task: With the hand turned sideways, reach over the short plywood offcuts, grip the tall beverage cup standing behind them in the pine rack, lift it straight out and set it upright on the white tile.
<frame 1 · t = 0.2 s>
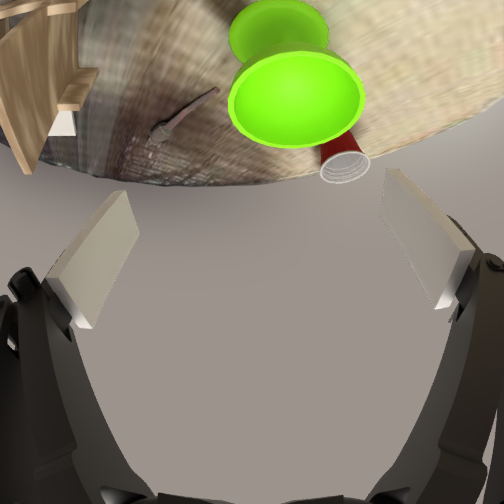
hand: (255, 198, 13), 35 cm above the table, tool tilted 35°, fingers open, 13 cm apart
white tile: (45, 112, 40), on the table
pine rack: (32, 37, 22), on the table
natural artifact: (178, 116, 50), on the table
plastic cup: (333, 126, 55), on the table
wineglass: (279, 37, 34), on the table
plywood offcuts: (32, 37, 22), on the table
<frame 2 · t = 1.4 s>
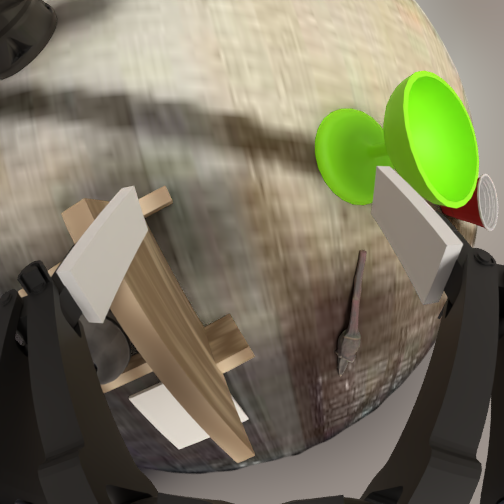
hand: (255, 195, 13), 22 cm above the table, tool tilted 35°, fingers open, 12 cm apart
white tile: (190, 409, 38), on the table
pine rack: (115, 307, 33), on the table
natural artifact: (349, 315, 44), on the table
plastic cup: (445, 200, 48), on the table
wineglass: (357, 155, 40), on the table
beverage cup: (115, 306, 33), on the table
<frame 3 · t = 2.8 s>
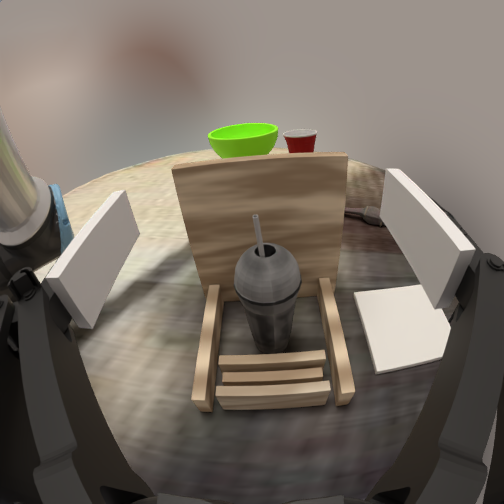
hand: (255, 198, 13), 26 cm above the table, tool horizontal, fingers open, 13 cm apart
white tile: (406, 325, 35), on the table
pine rack: (272, 340, 37), on the table
natural artifact: (354, 218, 60), on the table
plastic cup: (300, 167, 85), on the table
wineglass: (250, 199, 70), on the table
beverage cup: (272, 341, 37), on the table
plywood offcuts: (272, 340, 37), on the table
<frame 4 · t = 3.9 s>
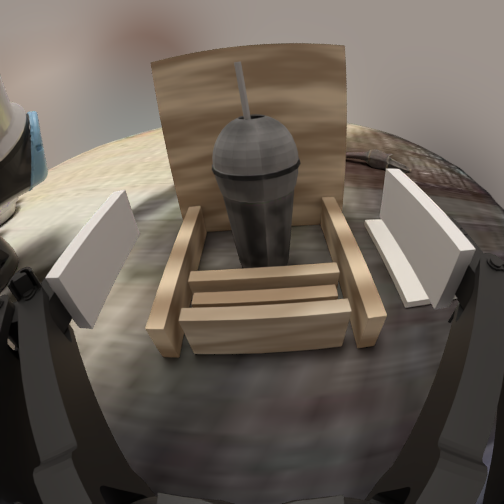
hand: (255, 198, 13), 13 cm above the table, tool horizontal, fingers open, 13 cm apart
white tile: (432, 255, 28), on the table
pine rack: (265, 268, 29), on the table
paper bowls: (3, 219, 54), on the table
natural artifact: (357, 164, 52), on the table
beverage cup: (265, 270, 29), on the table
plywood offcuts: (265, 268, 29), on the table
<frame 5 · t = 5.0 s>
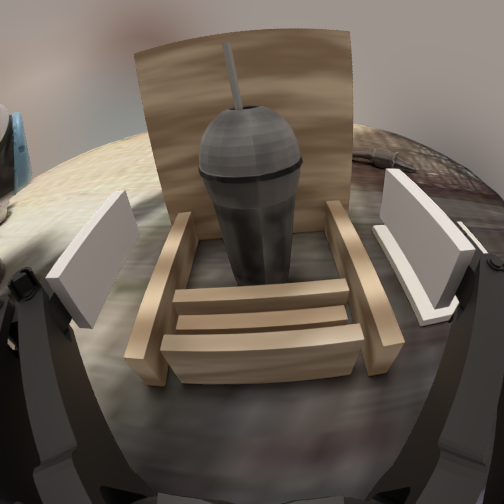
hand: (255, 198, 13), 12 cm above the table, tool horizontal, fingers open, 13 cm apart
white tile: (446, 264, 24), on the table
pine rack: (262, 282, 26), on the table
natural artifact: (361, 163, 49), on the table
beverage cup: (262, 284, 26), on the table
plywood offcuts: (262, 282, 26), on the table
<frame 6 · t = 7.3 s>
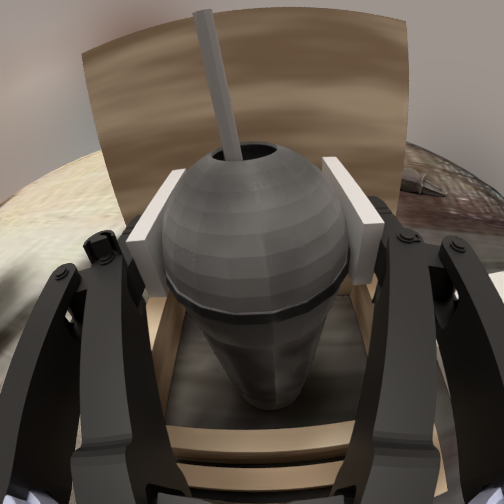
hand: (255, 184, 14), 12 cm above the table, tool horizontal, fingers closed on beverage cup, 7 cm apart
white tile: (491, 337, 16), on the table
pine rack: (270, 381, 18), on the table
natural artifact: (382, 184, 42), on the table
beverage cup: (270, 382, 18), on the table, touching gripper
plywood offcuts: (270, 381, 18), on the table
when the fingers open (14 cm above the table, at t = 13.9 s): beverage cup drops 1 cm, resting on white tile.
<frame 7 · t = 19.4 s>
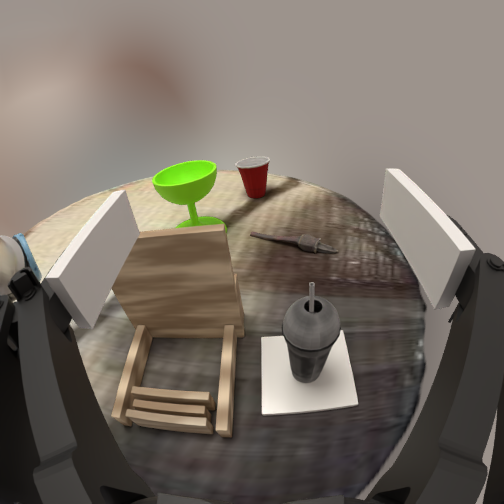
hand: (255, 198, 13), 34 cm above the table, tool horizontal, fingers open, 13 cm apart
white tile: (306, 372, 40), on the table
pine rack: (182, 375, 41), on the table
natural artifact: (292, 245, 68), on the table
plastic cup: (255, 195, 90), on the table
wineglass: (198, 234, 75), on the table
beverage cup: (306, 371, 40), point 1 cm above the table, touching white tile
plywood offcuts: (182, 375, 41), on the table
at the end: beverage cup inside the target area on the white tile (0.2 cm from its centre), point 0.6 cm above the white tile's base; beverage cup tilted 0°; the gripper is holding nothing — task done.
